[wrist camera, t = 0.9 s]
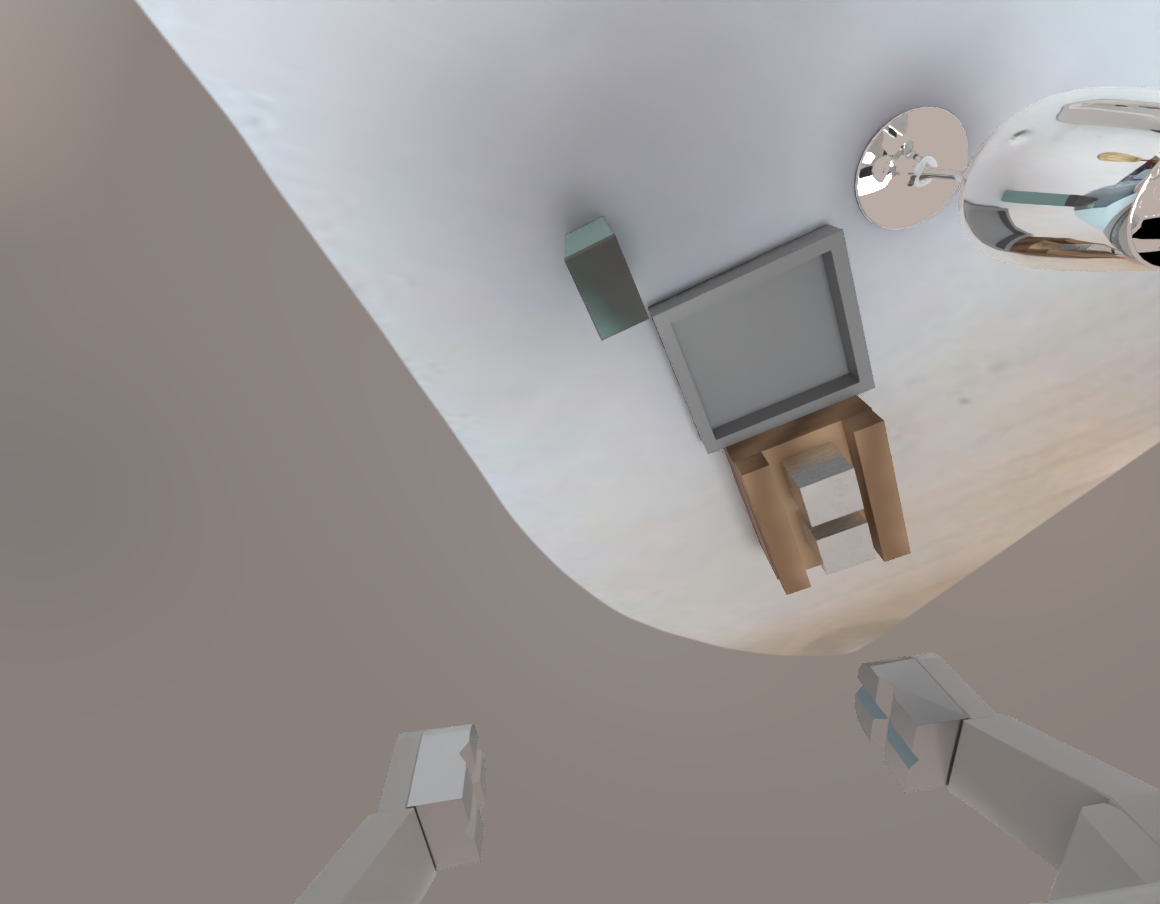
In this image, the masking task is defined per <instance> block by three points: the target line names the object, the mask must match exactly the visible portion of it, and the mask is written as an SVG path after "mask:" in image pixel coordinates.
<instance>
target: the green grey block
mask: <svg viewBox="0 0 1160 904" xmlns="http://www.w3.org/2000/svg"><path fill="white" fill-rule="evenodd" d="M565 245H566V258H565V263H566V265H567V267H568V269H569V271H570V274H571V276H572V278H573V280H574V282H575V284H576V286H577V289H578V291H579V293H580V295H581V297H582V299H583V302H584V304H585V306H586V308H587V310H588V312H589V314H590V317H591V319H592V321H593V323H594V325H595V327H596V330H597V332H598V334H599V336H600V338H601V340H604V339H606V338H608V337H610V336H613V335H615V334H617V333H619V332H621V331H623V330H626V329H628V328H630V327H632V326H634V325H637V324H639V323H641V322H643V321H645V320H647V319H649V317H648V315H647V312H646V310H645V307H644V305H643V302H642V300H641V298H640V295H639V293H638V290H637V288H636V285H635V283H634V280H633V278H632V276H631V273H630V271H629V268H628V266H627V263H626V261H625V258H624V256H623V254H622V251H621V249H620V246H619V244H618V241H617V239H616V236H615V235H614V234H613V233H612V231H611V229H610V228H609V226H608V224H607V222H606V220H605V219H604V217H603V216H602V217H600V218H598V219H596V220H594V221H592V222H590V223H588V224H586V225H584V226H582V227H580V228H579V229H577V230H575V231H573V232H571V233H569V234H567V235H565Z"/></svg>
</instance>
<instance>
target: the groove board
mask: <svg viewBox="0 0 1160 904" xmlns="http://www.w3.org/2000/svg"><path fill="white" fill-rule="evenodd" d="M828 442H831V443H832V444H833V445H834V446H835V447H836V449H837V450H838V451H839V452H840V453H841V454H842V455H843V456H844V457H845V459H846V460H847V461H848V462H849V463H850V464H851V465H852V466H853V468H854V470H855V474H856V478H857V482H858V486H859V490H860V494H861V498H862V502H863V506H864V509H861V510H859V513H860V514H861V515H862V516H863V518H864V519H865V520H866V521H867V523H868V527H869V531H870V535H871V539H872V543H873V547H874V549H875V550H876V551H877V553H878V554H879V555H880V557H881V558H882V559H883V561H884V562H886V561H889V560H892V559H895V558H898V557H900V556H903V555H906V554H909V553H911V552H910V547H909V542H908V537H907V532H906V527H905V522H904V518H903V513H902V508H901V503H900V498H899V493H898V488H897V483H896V478H895V473H894V468H893V463H892V458H891V453H890V448H889V443H888V438H887V433H886V428H885V423H884V420H883V419H881V418H880V417H879V416H878V415H877V414H876V413H874V412H873V411H872V408H871V407H869V406H868V405H867V404H866V403H865V402H864V401H862V400H861V399H860V398H859V397H858V396H857V395H855V396H853V397H850V398H848V399H845V400H843V401H840V402H838V403H835V404H833V405H830V406H828V407H825V408H823V409H820V410H818V411H815V412H813V413H810V414H808V415H805V416H803V417H800V418H798V419H795V420H793V421H790V422H788V423H785V424H783V425H780V426H778V427H775V428H773V429H770V430H768V431H765V432H763V433H760V434H758V435H755V436H753V437H750V438H748V439H745V440H743V441H740V442H738V443H735V444H733V445H730V446H728V447H725V448H724V451H725V454H726V456H727V459H728V461H729V464H730V467H731V469H732V472H733V474H734V477H735V480H736V482H737V485H738V487H739V490H740V493H741V495H742V498H743V500H744V503H745V506H746V508H747V511H748V513H749V516H750V519H751V521H752V524H753V526H754V529H755V532H756V534H757V537H758V539H759V542H760V545H761V547H762V549H763V551H764V553H765V555H766V557H767V559H768V561H769V563H770V565H771V567H772V569H773V571H774V573H775V575H776V577H777V579H779V580H780V582H781V585H782V587H783V589H784V591H785V593H786V595H788V594H791V593H794V592H797V591H800V590H803V589H806V588H809V587H811V585H810V582H809V579H808V576H807V573H806V570H807V569H810V568H813V567H815V566H818V565H821V564H820V563H819V561H818V559H817V558H816V556H815V555H814V553H813V551H812V550H811V548H810V546H809V545H808V543H807V540H806V537H805V534H804V531H803V528H802V524H801V521H800V518H799V515H798V512H797V510H800V508H799V506H798V505H797V503H796V502H795V500H794V499H793V497H792V494H791V491H790V488H789V485H788V482H787V478H786V475H785V472H784V469H783V466H782V463H781V460H784V459H786V458H789V457H792V456H794V455H797V454H799V453H802V452H805V451H807V450H810V449H812V448H815V447H817V446H820V445H823V444H825V443H828Z"/></svg>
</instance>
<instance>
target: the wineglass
mask: <svg viewBox="0 0 1160 904" xmlns="http://www.w3.org/2000/svg"><path fill="white" fill-rule="evenodd" d="M967 160H968V140H967V136H966V132H965V130H964V128H963V126H962V124H961V122H960V121H959V120H958V119H957V118H956V117H955V115H953V114H952V113H950V112H948V111H947V110H945V109H941V108H938V107H919V108H914V109H911V110H909V111H906V112H904V113H901V114H900V115H898V116H897V117H895V118H893V119H892V120H890V121H889V122H888V123H887V124H886V125H885V126H883V127H882V128H881V129H880V130H879V131H878V133H877V134H876V135H875V136H874V137H873V139H872V140H871V141H870V143H869V145H868V146H867V148H866V149H865V151H864V153H863V156H862V158H861V160H860V163H859V166H858V170H857V174H856V183H855V190H856V199H857V202H858V204H859V207H860V209H861V211H862V213H863V214H864V216H865V217H866V218H867V219H868V220H869V221H870V222H871V223H873V224H875V225H877V226H879V227H882V228H886V229H897V230H899V229H905V228H910V227H913V226H915V225H918V224H920V223H922V222H924V221H926V220H927V219H929V218H931V217H932V216H933V215H934V214H936V213H937V212H938V211H939V210H941V208H942V207H943V206H944V205H945V204H946V203H947V202H948V201H949V200H950V198H951V197H952V196H953V194H954V193H955V191H956V190H957V188H958V186H959V184H960V182H961V186H960V192H959V217H960V221H961V225H962V228H963V229H964V231H965V233H966V235H967V237H968V238H969V239H970V240H971V241H972V242H973V243H974V244H975V245H976V246H977V247H978V248H979V250H980V251H981V252H983V253H985V254H987V255H988V256H990V257H992V258H994V259H997V260H999V261H1002V262H1004V263H1008V264H1012V265H1016V266H1021V267H1026V268H1032V269H1039V270H1050V271H1086V272H1135V271H1160V89H1156V88H1146V87H1124V86H1094V87H1086V88H1081V89H1076V90H1071V91H1067V92H1062V93H1057V94H1054V95H1051V96H1049V97H1046V98H1044V99H1041V100H1039V101H1037V102H1035V103H1033V104H1032V105H1030V106H1028V107H1026V108H1024V109H1023V110H1021V111H1019V112H1018V113H1016V114H1014V115H1013V116H1011V117H1010V118H1008V119H1007V120H1006V121H1005V122H1004V123H1002V124H1001V125H1000V126H999V127H997V128H996V129H995V130H994V131H993V133H992V134H991V135H990V136H989V137H988V138H987V139H986V140H985V141H984V142H983V144H982V145H981V147H980V148H979V149H978V151H977V152H976V154H975V155H974V157H973V158H972V159H971V161H970V163H969V165H968V167H967V169H966V166H967Z"/></svg>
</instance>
